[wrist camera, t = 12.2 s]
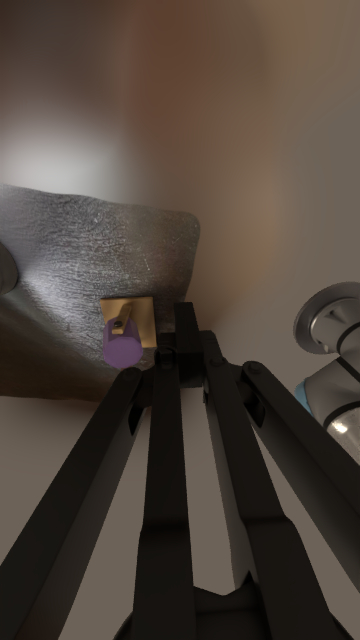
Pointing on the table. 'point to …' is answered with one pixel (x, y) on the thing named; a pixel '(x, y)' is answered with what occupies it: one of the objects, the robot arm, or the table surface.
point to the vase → (7, 271)
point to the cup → (122, 345)
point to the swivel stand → (132, 317)
